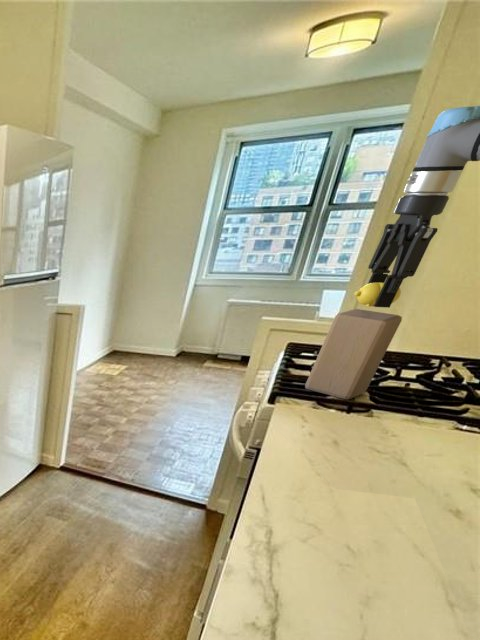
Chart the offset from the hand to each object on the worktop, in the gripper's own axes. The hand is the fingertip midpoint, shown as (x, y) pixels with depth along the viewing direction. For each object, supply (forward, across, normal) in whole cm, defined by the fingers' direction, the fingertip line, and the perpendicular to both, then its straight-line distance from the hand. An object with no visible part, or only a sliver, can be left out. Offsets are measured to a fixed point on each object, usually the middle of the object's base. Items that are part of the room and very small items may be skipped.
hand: (374, 304), depth 115 cm
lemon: (0, 0, 0) cm, 0 cm away
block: (+23, 0, 0) cm, 23 cm away
